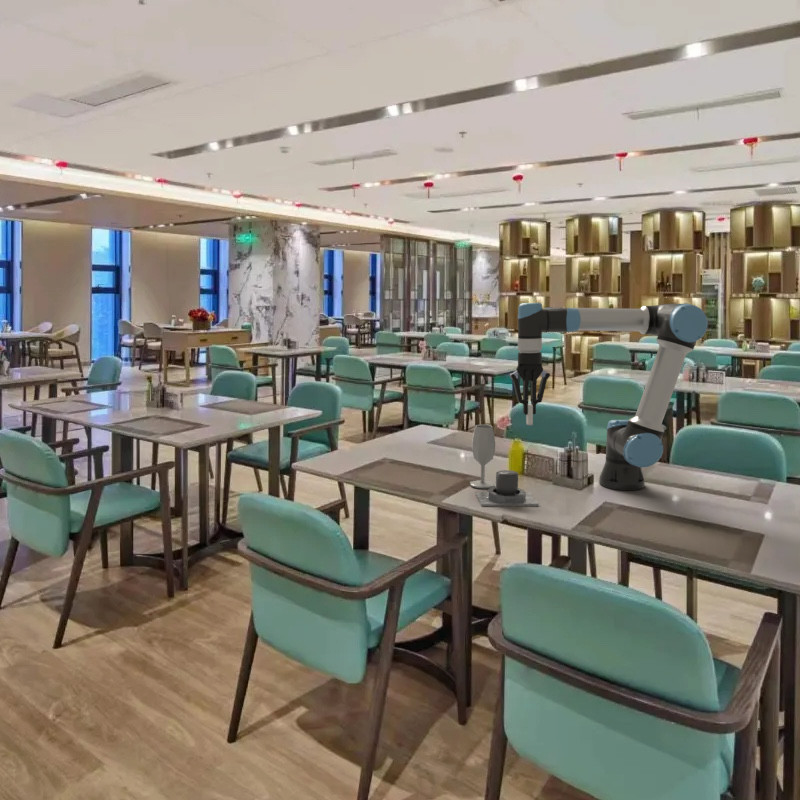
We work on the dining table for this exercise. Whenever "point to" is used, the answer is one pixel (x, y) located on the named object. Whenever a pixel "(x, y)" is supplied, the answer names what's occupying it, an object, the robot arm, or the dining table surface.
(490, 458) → the wineglass
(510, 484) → the dark grey cylinder
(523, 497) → the gray tray with ring
